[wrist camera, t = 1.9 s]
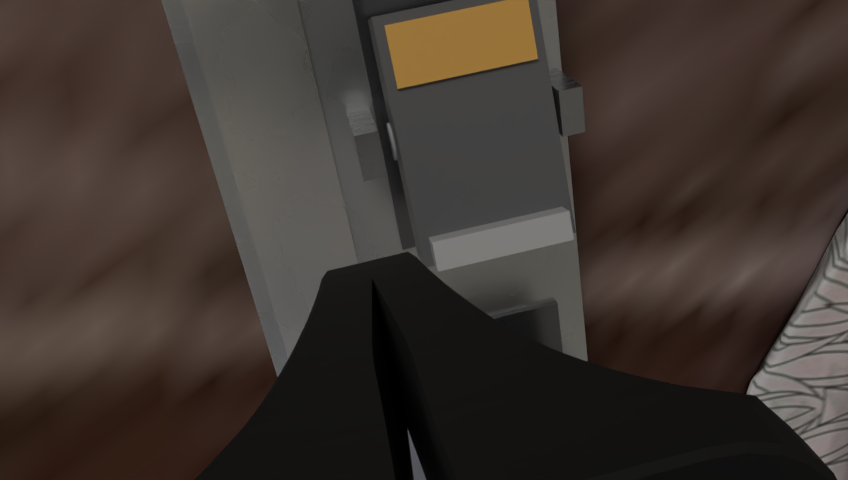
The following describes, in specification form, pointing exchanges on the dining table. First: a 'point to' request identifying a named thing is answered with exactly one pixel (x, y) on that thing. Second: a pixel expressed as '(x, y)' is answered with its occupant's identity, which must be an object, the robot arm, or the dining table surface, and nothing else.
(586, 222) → the dining table surface
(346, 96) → the power strip
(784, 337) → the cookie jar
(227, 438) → the dining table surface
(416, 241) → the rocker
